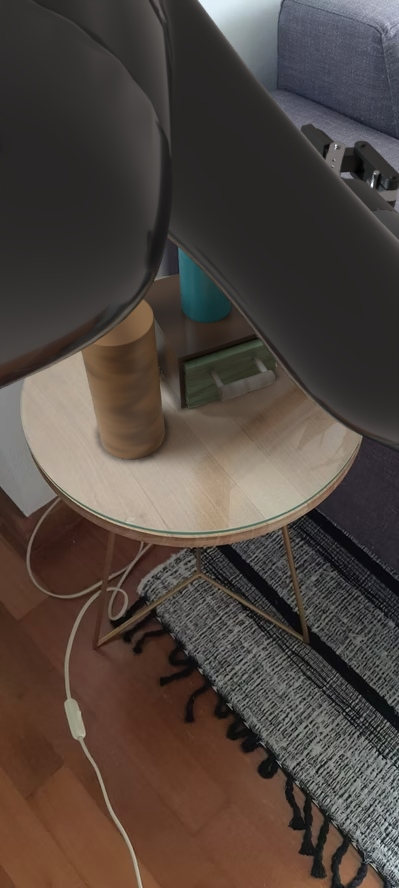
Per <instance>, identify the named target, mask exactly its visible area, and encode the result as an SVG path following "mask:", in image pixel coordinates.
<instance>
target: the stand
mask: <svg viewBox="0 0 399 888" xmlns="http://www.w3.org/2000/svg"><path fill="white" fill-rule="evenodd" d="M80 352H81V355H82V356H81V357H82V360H83V365H84V369H85V375H86V379H87V383H88V388H89V393H90V397H91V402H92V406H93V410H94V416H95V420H96V424H97V429H98V433H99V438H100V442H101V444H102V447H103V448H104V449H105V450H106V451H107V452H108V453H109V454H111V455H112V456H115V457H117V458H119V459H123V460H124V459H125V460H135V459H141V458H144V457H147V456H149V455H150V454H152V453H154V452H155V451H156V450H157V449H158V448H159V447H160V446H161V444H163V441H164V438H165V434H166V433H165V432H166V431H165V420H164V419H165V418H164V409H163V408H164V407H163V400H162V389H161V388H162V387H161V379H160V378H161V376H160V368H159V366H158V356H157V346H156V335H155V325H154V314H153V311H152V309H151V307H150V306H149V304H148V303H147V302H146V301H144V300H142V301H141V302H140V304H139V305H138V306H137V307H136V308H135V309H134V310H133V311H132V312H131V314H130V315H129V316H128V317H127V318H126V319H125V320H124V321H123V322H121V323H120V324H119V325H118V326H116V327H115V328H114V329H113V330H111V331H110V332H109V333H108V334H106V335H105V336H103V337H102V338H101V339H99V340H97V341H96V342H94V343H93V344H91V345H90V346H88V347H87V348H85V349H83V350H81V351H80Z"/></svg>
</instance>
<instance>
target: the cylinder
mask: <svg viewBox="0 0 399 888" xmlns="http://www.w3.org/2000/svg"><path fill="white" fill-rule="evenodd" d="M177 254H178V256H177V257H178V271H179V273H178V274H180V293H181V308H182V311H183V313H184V314H185V315H186V316H187V317H188V318H190V319H191V320H194V321H197V322H202V323H210V322H215V321H218V320H221V319H223V318H224V317H226V316H227V315H228V314H229V312H230V310H231V307H232V304H231V303H230V301H229V300H228V299H227V298H226V297H225V295H224V294H223V293H222V292H221V291H220V289H219V288H218V287H217V286H216V285H215V283H214V282H213V281H212V280H211V279H210V278H209V277H208V276H207V275H206V274H205V273H204V272H203V271H202V270H201V269H200V267H199V266H197V265H196V264H195V263H194V262H193V261H192V260H191V259H190V258H189V257H188V256H187V255H186V254H185V253H184V252H183V251H182V250H181V249H180V248H179V247H178V246H177Z"/></svg>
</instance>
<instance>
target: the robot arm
mask: <svg viewBox="0 0 399 888" xmlns="http://www.w3.org/2000/svg"><path fill="white" fill-rule="evenodd" d="M342 173H349V176H351V177H348V178H345V177H343V176H342ZM398 195H399V172H398V171H397V169H395V168H394V167H393V166H392V164H390V163H389V162H388V161H387V160H386V159H385V158H384V157H383V156H382V155H381V154H380V153H379V151H378V150H376V148H375V147H374V146H373V145H372V144H371V143H370V142H368V141H366V140H357V141H355V142H354V144H353V146H348V147H347V146H346V144H345V143H344V142H341V141H335V140H333V139H332V137H330V136H329V134H327V133H326V132H325V131H324V130H322V129H320V128H318V127H315V126H314V125H313V124H312V123H307V124H303V125H301V126H300V128H299V127H298V125H297V124H296V123H295V122H294V121H293V119H291V117H290V116H289V115H288V114H287V112H286V111H285V110H284V109H283V107H282V106H281V105H280V104H279V103H278V101H277V100H276V99H275V98H274V97H273V96H272V94H271V93H270V92H269V91H268V89H267V88H266V87H265V86H264V85H263V83H262V82H261V81H260V80H259V79H258V78H257V76H256V75H255V74H254V73H253V71H251V69H250V68H249V66H248V65H247V64H246V62H245V61H244V60H243V59H242V57H241V56H240V55H239V53H238V51H236V49H235V47H234V46H233V45H232V44H231V42H230V41H229V40H228V39H227V37H226V35H225V34H224V33H223V32H222V30H221V29H220V28H219V26H218V25H217V24H216V22H215V21H214V20H213V18H212V17H211V16H210V14H209V13H208V12H207V10H206V9H205V7H204V6H203V5H202V4H201V2H200V1H199V0H0V390H2V389H4V388H7V387H9V386H11V385H13V384H16V383H18V382H20V381H22V380H25V379H27V378H29V377H32V376H33V375H37V374H38V373H40V372H43V371H45V370H47V369H50V368H51V367H53V366H55V365H57V364H59V363H60V362H63V361H64V360H67V359H68V358H71V357H72V356H74V355H76V354H78V353H80V352H81V350H83V349H85V348H87V347H88V346H90V345H91V344H93V343H94V342H96V341H97V340H99V339H101V338H102V337H103V336H105V335H106V334H108V333H109V332H110V331H111V330H113V329H114V328H115V327H116V326H118V325H119V324H120V323H121V322H123V321H124V320H125V319H126V318H127V317H128V316H129V315H130V314H131V312H132V311H133V310H134V309H135V308H136V307H137V306H138V305H139V304H140V302H141V301H142V300H143V299H144V297H145V295H146V294H147V292H148V290H149V289H150V287H151V285H152V284H153V282H154V281H155V280H156V278H157V276H158V273H159V270H160V268H161V265H162V262H163V258H164V254H165V250H166V246H167V244H168V243H167V242H168V239H169V240H170V241H171V242H172V243H173V244H174V245H176V247H177V248H178V247H179V248H180V249H181V250H182V251H183V252H184V253H185V254H186V255H187V256H188V257H189V258H190V259H191V260H192V261H193V262H194V263H195V264H196V265H197V266H199V267H200V269H201V270H202V271H203V272H204V273H205V274H206V275H207V276H208V277H209V278H210V279H211V280H212V281H213V282H214V283H215V285H216V286H217V287H218V288H219V289H220V291H221V292H222V293H223V294H224V295H225V297H226V298H227V299H228V300H229V301H230V303H231V304H232V305H233V306H234V307H235V309H236V310H237V311H238V312H239V314H240V315H241V316H242V318H243V319H244V320H245V322H246V323H247V324H248V326H249V327H250V328H251V329H252V331H253V332H254V333H255V335H256V336H257V337H258V339H259V340H260V341H261V342H262V344H263V345H264V346H265V347H266V349H267V350H268V351H269V352H270V354H271V355H272V356H273V358H274V359H275V360H276V364H278V365H279V366H280V368H281V369H282V370H283V371H284V373H285V374H286V375H287V376H288V378H289V379H290V380H291V381H292V382H293V383H294V385H295V386H296V387H297V388H298V389H299V390H300V391H301V392H302V393H303V394H304V395H305V396H306V397H307V398H308V399H309V400H310V401H311V402H312V403H313V404H314V405H315V406H316V407H318V408H319V409H320V410H321V411H322V412H324V413H325V415H327V416H329V417H330V418H331V419H332V420H334V421H335V422H336V423H338V424H339V425H341V426H343V427H345V428H346V429H348V430H349V431H351V432H353V433H356V434H357V435H360V436H361V437H363V438H366V439H367V440H369V441H372V442H374V443H376V444H378V445H381V446H383V447H384V448H387V449H389V450H390V451H393V452H396V453H397V454H399V212H398V211H397V209H395V207H396V203H397V199H398Z"/></svg>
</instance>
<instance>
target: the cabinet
mask: <svg viewBox="0 0 399 888" xmlns="http://www.w3.org/2000/svg"><path fill="white" fill-rule="evenodd" d="M143 300H144V301H146V302H147V303H148V304H149V306H150V307H151V309H152V311H153V314H154V325H155V335H156V346H157V356H158V366H159V371H160V373H161V374H162V376H163V378H164V379H165V382H166V383H167V385H168V387H169V388H170V390H171V392H172V394H173V397H174V398H175V399H176V402H177V403H178V405H179V407H180V408H181V409H183V408H186V407H188V405H187V404H186V399H185V380H184V362H185V361H186V360H189V359H192V358H195V357H199V356H202V355H205V354H208V353H211V352H214V351H217V350H220V349H223V348H227V347H230V346H233V345H236V344H239V343H242V342H245V341H248V340H251V339H255V338H258V337H257V336H256V335H255V333H254V332H253V331H252V329H251V328H250V327H249V326H248V324H247V323H246V322H245V320H244V319H243V318H242V316H241V315H240V314H239V312H238V311H237V310H236V309H235V307H234V306H233V305H232V307H231V310H230V312H229V314H228V315H227V316H226V317H224V318H223V319H221V320H218V321H215V322H210V323H202V322H197V321H194V320H191V319H190V318H188V317H187V316H186V315H185V314H184V313H183V311H182V308H181V293H180V274H179V273H176V274H173V275H169V276H166V277H162V278H159V279H155V280H154V282H153V284H152V285H151V287H150V289H149V290H148V292H147V294H146V295H145V297H144V299H143Z"/></svg>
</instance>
